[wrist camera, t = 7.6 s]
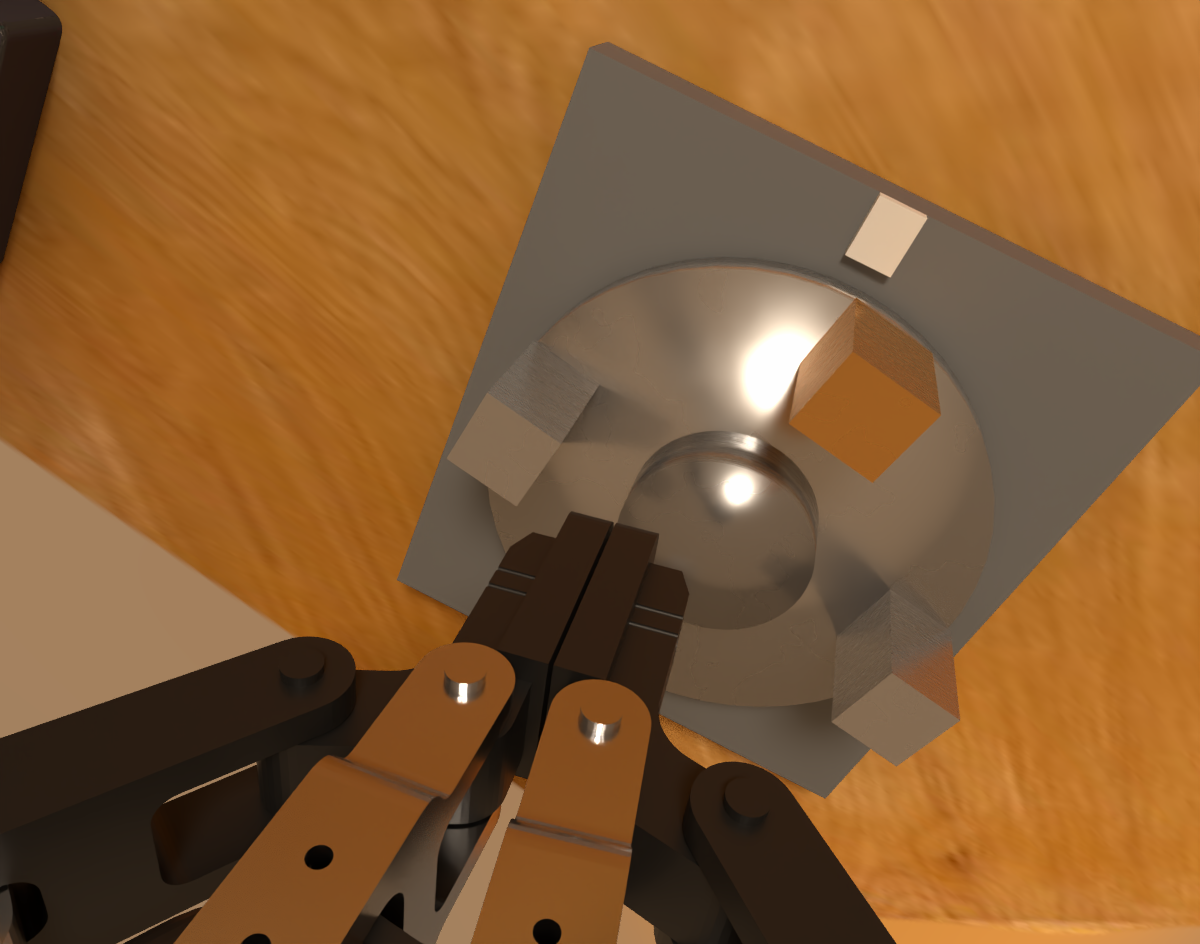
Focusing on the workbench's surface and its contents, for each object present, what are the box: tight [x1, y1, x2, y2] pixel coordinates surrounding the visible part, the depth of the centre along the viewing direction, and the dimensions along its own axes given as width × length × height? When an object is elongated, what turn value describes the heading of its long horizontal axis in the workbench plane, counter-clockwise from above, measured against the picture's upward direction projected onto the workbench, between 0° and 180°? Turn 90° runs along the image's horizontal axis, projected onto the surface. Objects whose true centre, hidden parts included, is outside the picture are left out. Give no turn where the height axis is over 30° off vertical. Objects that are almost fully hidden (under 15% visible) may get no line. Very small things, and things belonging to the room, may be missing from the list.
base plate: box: [397, 42, 1200, 798], centre depth 31 cm, size 19×21×2 cm
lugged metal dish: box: [446, 257, 995, 766], centre depth 28 cm, size 16×16×5 cm
